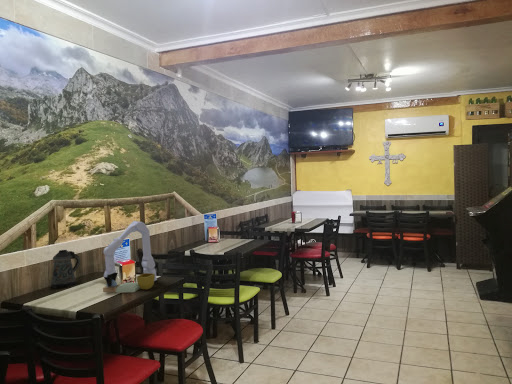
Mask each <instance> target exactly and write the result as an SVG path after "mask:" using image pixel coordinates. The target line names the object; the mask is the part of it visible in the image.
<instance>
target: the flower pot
mask: <svg viewBox="0 0 512 384" xmlns="http://www.w3.org/2000/svg"><path fill="white" fill-rule="evenodd" d="M154 279H155V274H150V273H144V272H143V273H142V274H138V275H137V276H136V281H137V282H136V283H138V285H139V287H140V290H149V289H152V287H153V286H154V284H155V281H154Z"/></svg>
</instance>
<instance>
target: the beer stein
mask: <svg viewBox="0 0 512 384" xmlns="http://www.w3.org/2000/svg"><path fill="white" fill-rule="evenodd" d="M73 259H75V260H76V262H75V265H74V266H73V264H72V260H73ZM52 260H53V270H52V277H51V281H50V285H51V289H65V288H70V287H72V286H75V285H76V283H77V278H76V276H75V272H76V271H77V269H78V268H79V267H80V263H81V258H80V255H77V254H76V253H75V252H74V251H72V250H70V251H69V250H67V249H61V250H59V251H58V252H57V253H56V254H54V256H53V257H52ZM64 287H65V288H64Z"/></svg>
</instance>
